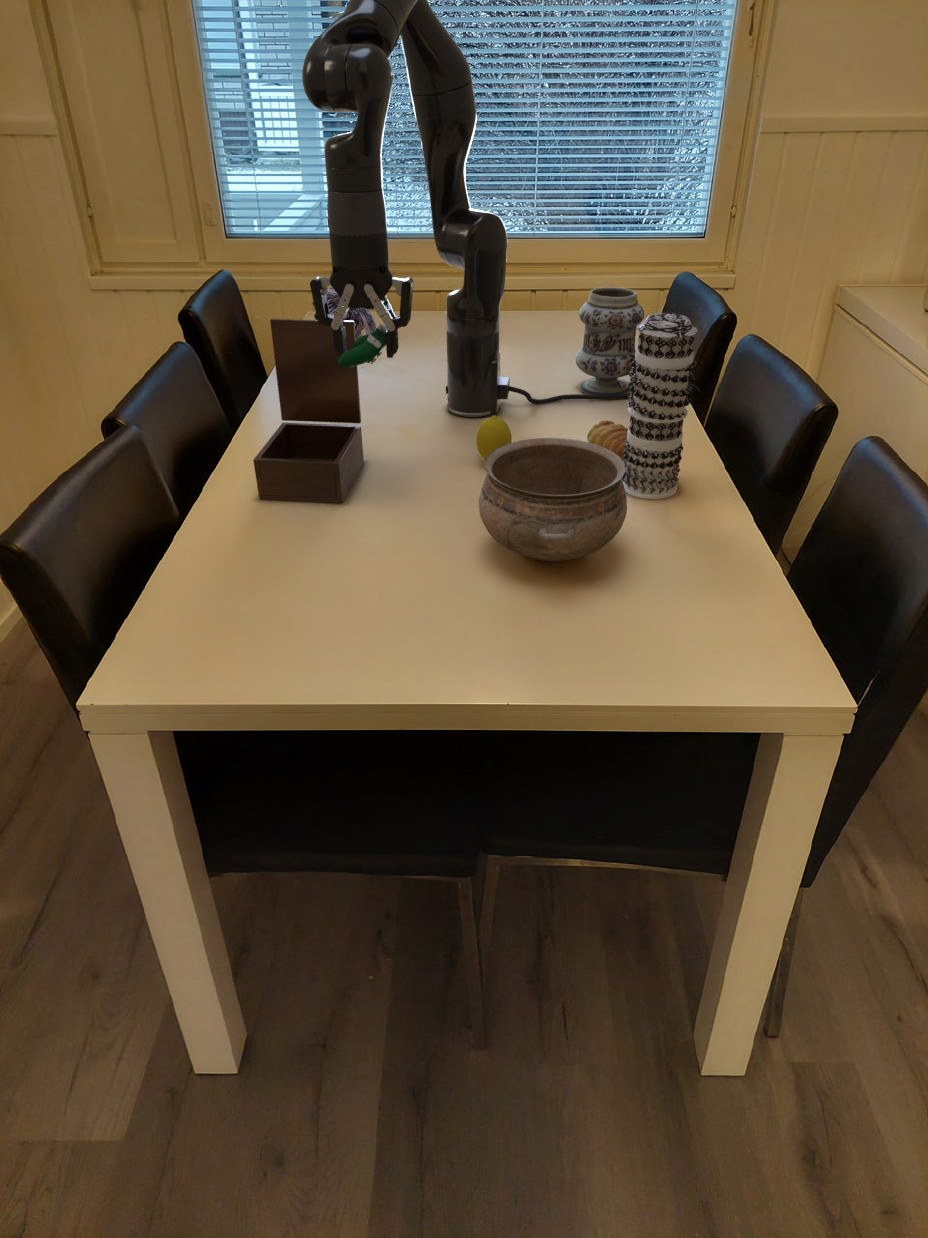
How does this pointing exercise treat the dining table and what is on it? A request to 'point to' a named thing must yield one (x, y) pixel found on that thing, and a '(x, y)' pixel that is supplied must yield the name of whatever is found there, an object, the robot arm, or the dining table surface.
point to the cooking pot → (553, 498)
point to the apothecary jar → (608, 339)
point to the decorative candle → (658, 405)
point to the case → (309, 462)
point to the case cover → (314, 373)
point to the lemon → (492, 435)
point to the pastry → (609, 436)
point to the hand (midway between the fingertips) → (366, 355)
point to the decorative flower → (351, 314)
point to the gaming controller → (365, 349)
